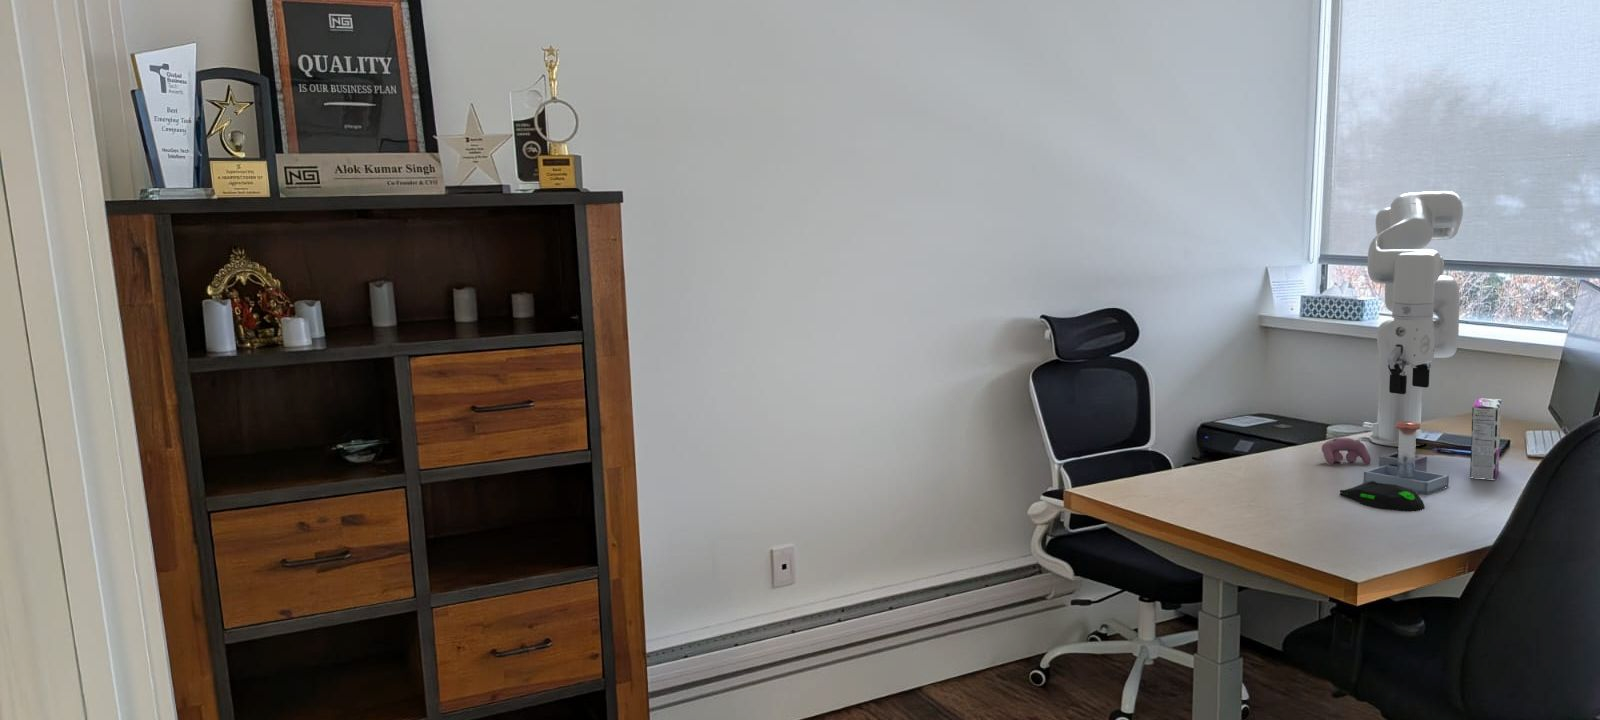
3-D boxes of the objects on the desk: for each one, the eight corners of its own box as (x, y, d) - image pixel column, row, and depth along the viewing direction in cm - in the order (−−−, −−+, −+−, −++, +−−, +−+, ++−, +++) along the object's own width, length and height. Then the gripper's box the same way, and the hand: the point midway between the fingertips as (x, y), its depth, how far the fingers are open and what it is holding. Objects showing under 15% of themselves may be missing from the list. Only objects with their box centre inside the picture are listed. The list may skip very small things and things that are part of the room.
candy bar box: (1472, 467, 236) (1476, 397, 234) (1498, 470, 233) (1502, 398, 231) (1468, 478, 227) (1471, 405, 225) (1495, 481, 224) (1499, 407, 222)
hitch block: (1378, 473, 234) (1378, 456, 233) (1393, 468, 237) (1394, 451, 237) (1410, 479, 228) (1411, 461, 227) (1426, 474, 232) (1426, 456, 231)
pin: (1389, 481, 224) (1391, 423, 223) (1399, 478, 227) (1402, 420, 225) (1411, 485, 221) (1413, 426, 219) (1421, 482, 223) (1424, 423, 221)
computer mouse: (1392, 516, 203) (1392, 497, 202) (1327, 496, 219) (1328, 478, 218) (1437, 510, 206) (1438, 491, 205) (1370, 490, 222) (1371, 472, 221)
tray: (1363, 482, 226) (1363, 471, 226) (1384, 475, 232) (1385, 465, 231) (1427, 494, 216) (1427, 482, 215) (1448, 487, 221) (1448, 475, 220)
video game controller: (1365, 468, 245) (1360, 439, 247) (1373, 463, 241) (1368, 434, 243) (1322, 468, 246) (1317, 440, 248) (1329, 464, 242) (1324, 435, 244)
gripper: (1410, 316, 211) (1407, 398, 214) (1451, 307, 220) (1447, 386, 223) (1373, 314, 217) (1370, 393, 220) (1414, 305, 226) (1410, 382, 229)
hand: (1409, 389), depth 221 cm, fingers open, 9 cm apart
